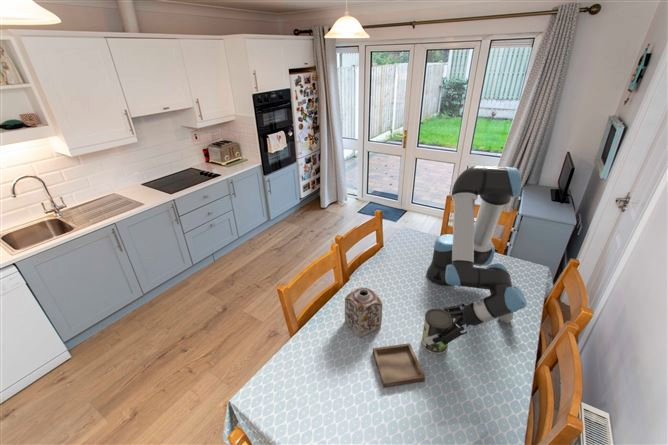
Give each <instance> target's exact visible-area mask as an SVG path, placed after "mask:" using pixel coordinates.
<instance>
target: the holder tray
mask: <svg viewBox="0 0 668 445" xmlns="http://www.w3.org/2000/svg"><path fill="white" fill-rule="evenodd" d="M372 354H373V358H374V361H375V364H376V368H377V372H378V374H379V377H380V381H381V385H382V388H383V389H386V388H392V387H398V386H404V385H411V384H417V383H424V382H425V380H426V375H425V374H424V371H423V369H422V367H421V364H420V362H419V360H418V358H417V356H416V353H415V351H414V349H413V346H412V345H411V343H410V342H408V343H407V342H406V343H401V344H393V345H387V346H380V347H379V346H378V347H373V348H372Z"/></svg>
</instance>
